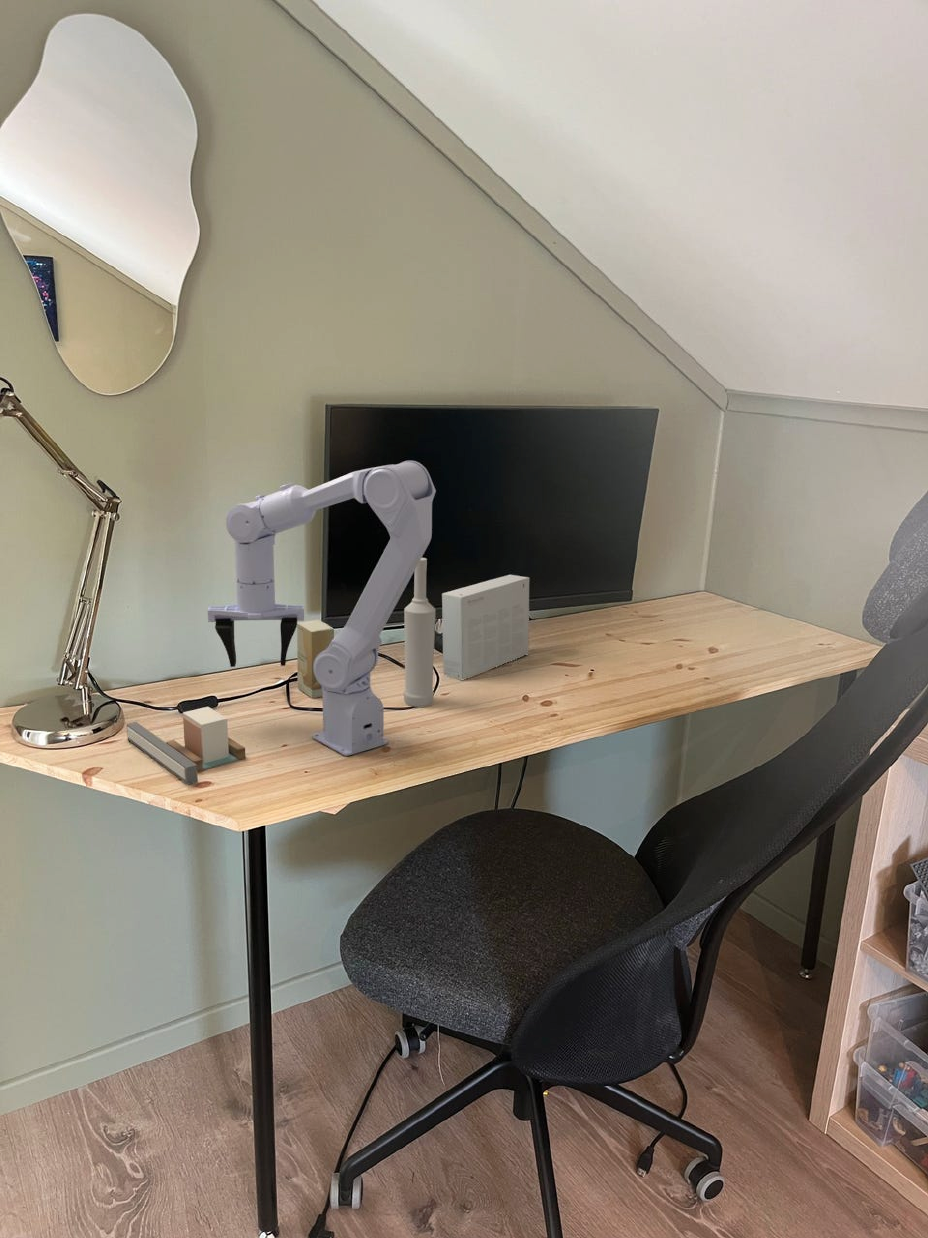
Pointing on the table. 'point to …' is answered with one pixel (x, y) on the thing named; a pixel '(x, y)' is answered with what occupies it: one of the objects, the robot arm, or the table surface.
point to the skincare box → (311, 653)
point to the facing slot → (234, 754)
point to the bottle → (419, 643)
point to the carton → (206, 734)
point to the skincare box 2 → (485, 625)
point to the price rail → (162, 753)
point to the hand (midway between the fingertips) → (258, 664)
